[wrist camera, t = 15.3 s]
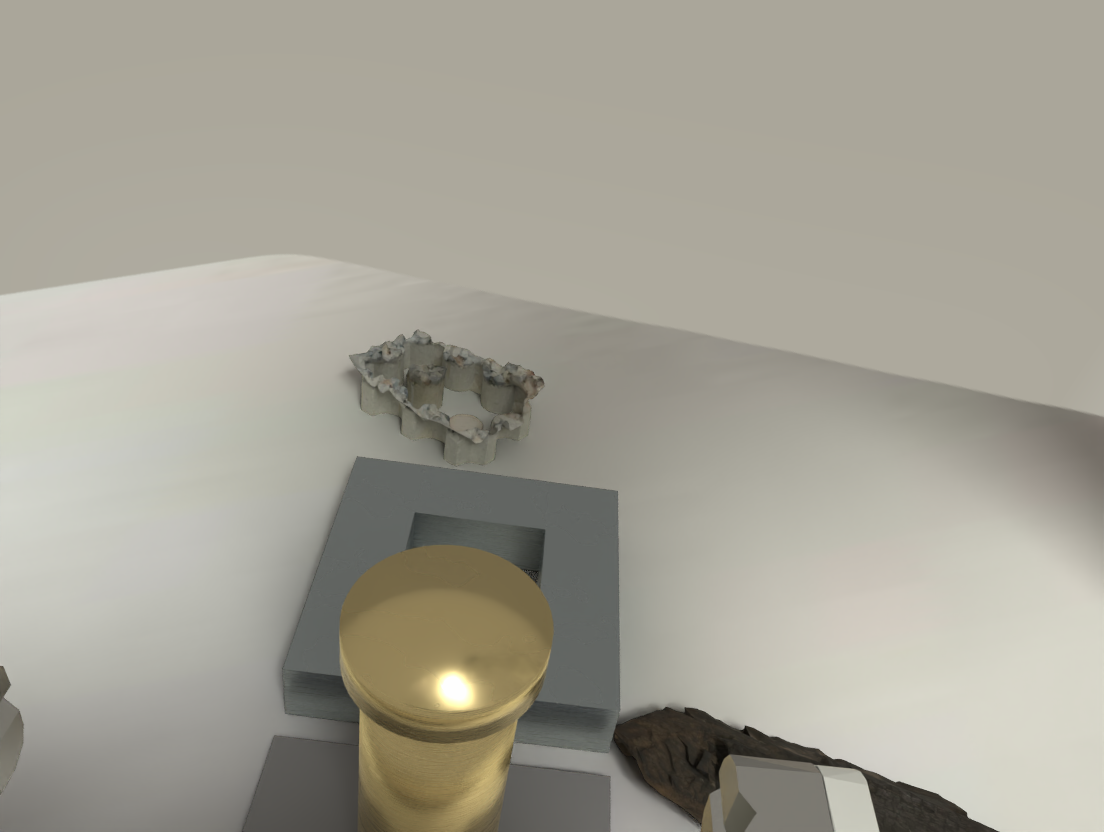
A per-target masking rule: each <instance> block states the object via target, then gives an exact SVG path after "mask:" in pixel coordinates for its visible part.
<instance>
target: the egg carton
mask: <svg viewBox="0 0 1104 832" xmlns="http://www.w3.org/2000/svg"><path fill="white" fill-rule="evenodd" d="M349 357H350V359H351V361H352V362H353V364H354V365H355V367H356V368H357V370H358V371H359V372H360V373H361V374H362V384H361V410H362V411H364V412H365V413H367V414H369V415H371V416H374V415H378V414H385V413H386V414H387V413H388V414H394V415H397V416H399V417H400V418H402V426H401V434H402V435H404V436H405V437H407V438H409V439H410V440H413V441H414V440H418V439H421V438H433V439H436V440H439V441H441V442H443V443H444V444H445V448H444V458H443V459H444V460H445V461H447V462H448V463H450V464H452V465H454V466H459V465H461V464H465V463H476V464H479V465H486V464H488V463H490V462H491V461H493V460H494V459H495V450H496V443H497V439H502V438H508V439H513V440H516V441H520V440H522V439H523V438H525V437H526V436H528V433H529V425H530V419H531V406H530V404H529V401H528V400H529V399H533V398H534V397H535V396H537V394H538V392H539V391H540V390H541V389H542V388H544V381H543V379H542V378H541V377H538V376H535V374H534V372H533V371H530V370H525V369H523V368H522V367H521V366H520V365H514V364H511V363H509V362H508V363H507V364H506V365H505V367H502V366H501V365H499V364H498V363H496V362H495V361H494V360H493V359H491V358H488V359H486V360H485V359H483V358H481V357H478V356H475V355H474V354H472V353H471V352H470V351H469V350H467V349H463V348H460V347H457V346H453V345H446V344H444V343H443V342H437V343H433V342H432V341H431V337H430V336H429V335H428V334H427V333H425V332H420V331H419V330H416V331H415V332H414V334H413V336H412V337H411V338H408V339H406V340H405V337H404V336H403V334H402V335H399V336H398V337H397V338H396V339H395V341H393V342H390V341H388V342H385V343H383V344H382V345H380V346H372V347H371V348H370V350H369V351H368V352H367V353H362V354H354V355H349ZM406 368H409V370H408V373H407V375H406V376H407V387H404V386H402V384H403V381H404V369H406ZM444 386H445V387H446V388H447V389H450V390H453V391H458V392H462V391H468V390H471V391H473V392H475V393H478V394H481V404H482V406H483V408H484V409H486V410H487V411H489V412H492V413H496V414H500V415H497V416H495V417H494V419H493V420H492V422H491V427H490V433H489V431H488V430H482V429H483V424H482V422H481V421H480V420H479V419H478V418H477V417H475V416H472V415H466V414H459V415H455V416H452V417H451V418H449V416H447V415H446V414H444V413H442V412H439V411H438V410H439V409H440V408H441V406H442V401H443V391H444ZM510 412H513V413H510ZM505 413H506V414H505Z"/></svg>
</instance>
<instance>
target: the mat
mask: <svg viewBox="0 0 1104 832" xmlns="http://www.w3.org/2000/svg"><path fill="white" fill-rule="evenodd" d="M358 782H359V746H357V745H349V744H341V743H332V742H324V741H316V740H308V739H300V738H291V737H283V736H274V739H273V742H272V745H271V748H270V751H269V754H268V757H267V760H266V763H265V766H264V769H263V771H262V774H261V777H260V780H259V783H258V786H257V789H256V792H255V795H254V798H253V801H252V804H251V807H250V810H249V813H248V816H247V819H246V822H245V825H244V828H243V831H242V832H358ZM498 832H610V776H603V775H595V774H587V773H578V772H570V771H562V770H554V769H546V768H537V767H529V766H521V765H513V764H510V765H509V770H508V776H507V782H506V787H505V793H504V799H503V804H502V810H501V815H500V821H499V827H498Z"/></svg>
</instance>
